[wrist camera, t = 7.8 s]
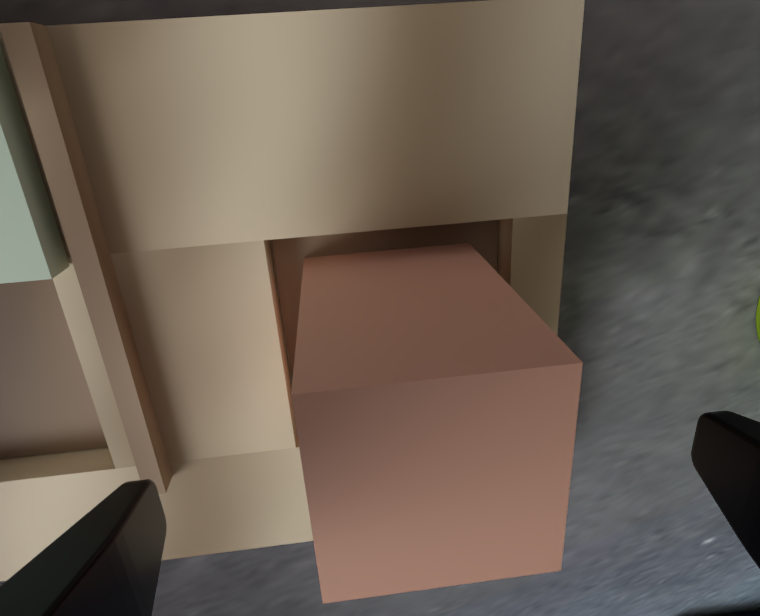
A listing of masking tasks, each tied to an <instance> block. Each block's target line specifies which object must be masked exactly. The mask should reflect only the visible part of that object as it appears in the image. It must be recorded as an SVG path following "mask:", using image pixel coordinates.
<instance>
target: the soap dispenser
mask: <svg viewBox="0 0 760 616" xmlns="http://www.w3.org/2000/svg"><path fill="white" fill-rule="evenodd" d="M756 329H757V335H758V338H759V342H760V297H759V300H758V305H757V312H756Z"/></svg>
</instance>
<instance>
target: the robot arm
mask: <svg viewBox="0 0 760 616" xmlns="http://www.w3.org/2000/svg"><path fill="white" fill-rule="evenodd" d="M691 457H692V462H693V465H694V467H695V469H696V471H697V472H698V474H699V475H700V477H701V479H702V480H703V482H704V483H705V485H706V487H707V488H708V490H709V492H710V493H711V495H712V496H713V498H714V500H715V501H716V503H717V504H718V506H719V508H720V509H721V511H722V513H723V514H724V516H725V517H726V519H727V521H728V522H729V524H730V525H731V527H732V529H733V530H734V532H735V534H736V535H737V537H738V538H739V540H740V541H741V543H742V544H743V546H744V547H745V549H746V550H747V552H748V553H749V555H750V556H751V557H752V559H753V560H754V562H755V563H756V564H757V566H758V567H759V568H760V422H758V421H755V420H752V419H749V418H747V417H744V416H741V415H739V414H736V413H733V412H730V411H717V412H709V413H704V414H702V415H701V416H700V418H699V419H698V423H697V427H696V432H695V437H694V441H693V446H692V451H691ZM166 530H167V523H166V517H165V514H164V510H163V507H162V504H161V500H160V497H159V494H158V490H157V487H156V485H155V483H154V482H153V481H152V480H150V479H144V480H136V481H128V482H125V483H123V484H122V485H120V486H119V487H118V488H117V489H116V490H114V491H113V492H112V493H111V494H110V495H108V496H107V497H106V498H105V499H104V500H102V501H101V502H100V503H99V504H98V505H96V506H95V507H94V508H93V509H92V510H91V511H89V512H88V513H87V514H86V515H85V516H83V517H82V518H81V519H80V520H79V521H77V522H76V523H75V524H74V525H73V526H71V527H70V528H69V529H68V530H67V531H65V532H64V533H63V534H62V535H61V536H59V537H58V538H57V539H56V540H55V541H53V542H52V543H51V544H50V545H49V546H48V547H46V548H45V549H44V550H43V551H42V552H40V553H39V554H38V555H37V556H36V557H34V558H33V559H32V560H31V561H30V562H28V563H27V564H26V565H25V566H24V567H22V568H21V569H20V570H19V571H18V572H16V573H15V574H14V575H13V576H12V577H11V578H9V579H8V580H7V581H6V582H5V583H3V584H2V585H1V586H0V616H151V615H152V610H153V604H154V598H155V593H156V587H157V582H158V576H159V571H160V565H161V560H162V554H163V549H164V543H165V538H166ZM727 616H760V611H754V612H747V613H741V614H734V615H727Z"/></svg>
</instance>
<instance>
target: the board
mask: <svg viewBox="0 0 760 616" xmlns="http://www.w3.org/2000/svg"><path fill="white" fill-rule="evenodd" d="M584 2H585V0H488V1H470V2H453V3H435V4H417V5H400V6H382V7H365V8H347V9H330V10H312V11H295V12H277V13H260V14H242V15H225V16H207V17H189V18H172V19H154V20H137V21H119V22H102V23H84V24H67V25H49V26H46V25H41V24H37V23H32V22H18V23H0V45H1V48H2V52H3V55H4V58H5V61H6V64H7V68H8V71H9V74H10V77H11V80H12V83H13V87H14V90H15V93H16V96H17V99H18V103H19V106H20V109H21V112H22V115H23V118H24V122H25V125H26V128H27V131H28V134H29V138H30V141H31V144H32V147H33V150H34V153H35V157H36V160H37V163H38V166H39V169H40V173H41V176H42V179H43V182H44V185H45V189H46V192H47V195H48V198H49V201H50V204H51V208H52V211H53V214H54V217H55V220H56V224H57V227H58V230H59V233H60V236H61V239H62V243H63V246H64V249H65V252H66V255H67V259H68V262H69V265H70V266H69V267H68V268H67V269H65V270H64V271H62V272H61V273H60V274H58V275H57V276H55V277H54V278H53V279H47V280H36V281H25V282H14V283H3V284H0V581H7V580H8V579H9V578H11V577H12V576H13V575H14V574H15V573H16V572H18V571H19V570H20V569H21V568H22V567H24V566H25V565H26V564H27V563H28V562H30V561H31V560H32V559H33V558H34V557H36V556H37V555H38V554H39V553H40V552H42V551H43V550H44V549H45V548H46V547H48V546H49V545H50V544H51V543H52V542H53V541H55V540H56V539H57V538H58V537H59V536H61V535H62V534H63V533H64V532H65V531H67V530H68V529H69V528H70V527H71V526H73V525H74V524H75V523H76V522H77V521H79V520H80V519H81V518H82V517H83V516H85V515H86V514H87V513H88V512H89V511H91V510H92V509H93V508H94V507H95V506H96V505H98V504H99V503H100V502H101V501H102V500H104V499H105V498H106V497H107V496H108V495H110V494H111V493H112V492H113V491H114V490H116V489H117V488H118V487H119V486H120V485H122V484H123V483H125V482H128V481H136V480H144V479H150V480H152V481H153V482H154V483H155V485H156V487H157V490H158V494H159V497H160V500H161V504H162V507H163V510H164V514H165V517H166V523H167V530H166V538H165V543H164V549H163V554H162V560H169V559H177V558H184V557H192V556H200V555H207V554H215V553H223V552H230V551H238V550H246V549H253V548H261V547H269V546H276V545H284V544H292V543H300V542H307V541H313V535H312V528H311V522H310V515H309V509H308V502H307V496H306V489H305V482H304V476H303V469H302V463H301V456H300V450H299V443H298V436H297V430H296V423H295V417H294V410H293V404H292V397H291V391H292V380H293V370H294V359H295V348H296V338H297V327H298V316H299V306H300V295H301V284H302V274H303V263H304V258H308V257H319V256H330V255H341V254H352V253H363V252H374V251H385V250H396V249H407V248H418V247H429V246H440V245H451V244H462V243H470V244H471V245H472V246H473V247H474V248H475V250H476V251H477V252H478V253H479V254H480V255H481V256H482V257H483V258H484V259H485V260H486V261H487V262H488V263H489V264H490V265H491V266H492V267H493V269H494V270H495V271H496V272H497V273H498V274H499V275H500V276H501V277H502V278H503V279H504V280H505V281H506V282H507V283H508V284H509V285H510V286H511V287H512V289H513V290H514V291H515V292H516V293H517V294H518V295H519V296H520V297H521V298H522V299H523V300H524V301H525V302H526V303H527V304H528V305H529V306H530V307H531V309H532V310H533V311H534V312H535V313H536V314H537V315H538V316H539V317H540V318H541V319H542V320H543V321H544V322H545V323H546V324H547V325H548V326H549V327H550V329H551V330H552V331H553V332H554V333H555V334H556V335H557V333H558V321H559V309H560V296H561V284H562V272H563V260H564V247H565V235H566V223H567V211H568V198H569V186H570V174H571V162H572V149H573V137H574V125H575V113H576V100H577V88H578V76H579V64H580V51H581V39H582V27H583V15H584Z"/></svg>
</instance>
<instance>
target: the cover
mask: <svg viewBox="0 0 760 616" xmlns="http://www.w3.org/2000/svg"><path fill="white" fill-rule="evenodd" d="M69 266H70V265H69V262H68V259H67V255H66V252H65V249H64V246H63V243H62V239H61V236H60V233H59V230H58V227H57V224H56V220H55V217H54V214H53V211H52V208H51V204H50V201H49V198H48V195H47V192H46V189H45V185H44V182H43V179H42V176H41V173H40V169H39V166H38V163H37V160H36V157H35V153H34V150H33V147H32V144H31V141H30V138H29V134H28V131H27V128H26V125H25V122H24V118H23V115H22V112H21V109H20V106H19V103H18V99H17V96H16V93H15V90H14V87H13V83H12V80H11V77H10V74H9V71H8V68H7V64H6V61H5V58H4V55H3V52H2V48H1V45H0V284H3V283H14V282H25V281H36V280H47V279H53V278H54V277H55V276H57V275H58V274H60V273H61V272H62V271H64V270H65V269H67V268H68V267H69Z"/></svg>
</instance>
